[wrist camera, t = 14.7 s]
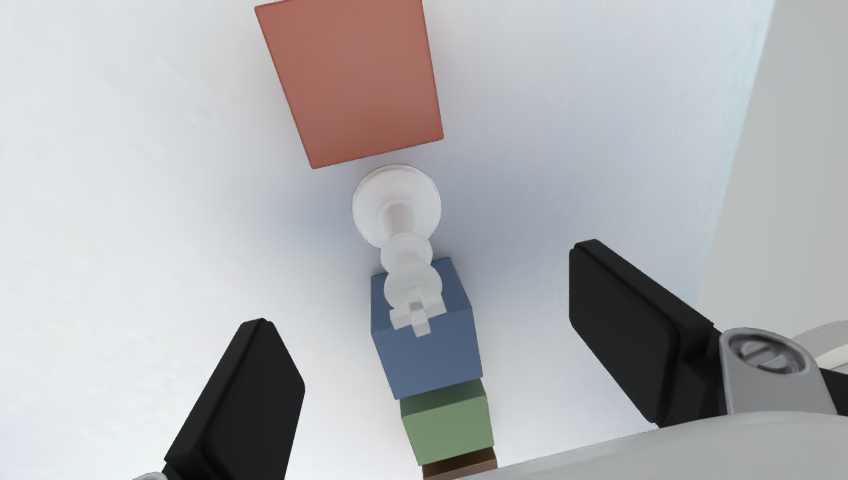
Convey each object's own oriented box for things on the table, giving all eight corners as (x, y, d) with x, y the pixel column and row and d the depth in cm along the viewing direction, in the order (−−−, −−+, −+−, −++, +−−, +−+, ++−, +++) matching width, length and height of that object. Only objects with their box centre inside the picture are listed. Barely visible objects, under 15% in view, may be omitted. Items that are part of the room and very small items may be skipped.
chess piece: (337, 182, 17) (301, 291, 8) (426, 151, 17) (485, 228, 8) (371, 258, 19) (371, 408, 11) (450, 231, 19) (516, 359, 11)
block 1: (403, 4, 14) (417, -29, 10) (424, 123, 17) (444, 139, 12) (289, 28, 14) (252, 5, 10) (327, 145, 16) (311, 170, 12)
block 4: (475, 394, 26) (496, 459, 22) (482, 432, 28) (502, 497, 24) (414, 410, 26) (423, 479, 22) (426, 447, 28) (436, 515, 24)
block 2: (449, 256, 20) (472, 306, 16) (461, 318, 23) (483, 377, 18) (370, 276, 20) (370, 332, 16) (390, 336, 22) (394, 400, 18)
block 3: (464, 334, 23) (486, 395, 19) (473, 381, 26) (494, 445, 21) (395, 352, 23) (401, 417, 19) (410, 398, 25) (418, 466, 21)
